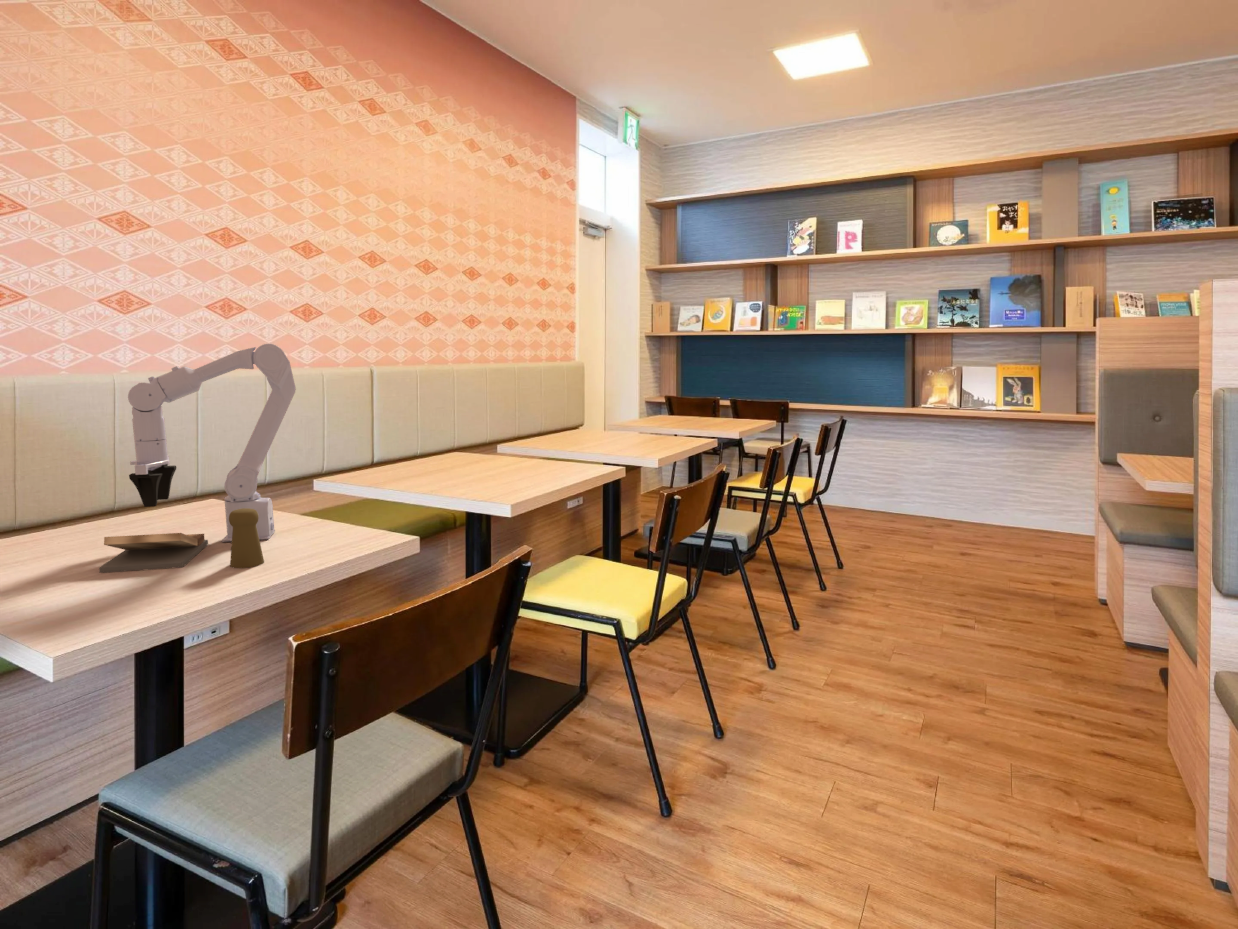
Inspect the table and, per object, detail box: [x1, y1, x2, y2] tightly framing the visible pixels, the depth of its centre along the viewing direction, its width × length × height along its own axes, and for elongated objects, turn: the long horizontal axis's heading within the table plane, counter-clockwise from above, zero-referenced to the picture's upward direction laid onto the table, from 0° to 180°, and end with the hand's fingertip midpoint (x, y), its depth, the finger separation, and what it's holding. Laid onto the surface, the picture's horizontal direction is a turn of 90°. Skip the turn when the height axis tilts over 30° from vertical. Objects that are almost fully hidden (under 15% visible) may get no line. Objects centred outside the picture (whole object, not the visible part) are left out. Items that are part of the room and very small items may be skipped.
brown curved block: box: [187, 533, 206, 546], centre depth 153 cm, size 13×4×2 cm, turn 105°
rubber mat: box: [98, 539, 209, 573], centre depth 147 cm, size 14×18×1 cm
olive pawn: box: [229, 508, 265, 569], centre depth 142 cm, size 6×6×11 cm
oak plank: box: [103, 532, 198, 551], centre depth 145 cm, size 13×11×2 cm
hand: (156, 502), depth 155 cm, fingers open, 7 cm apart
